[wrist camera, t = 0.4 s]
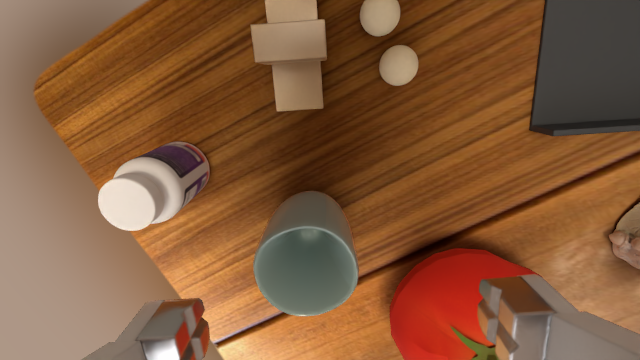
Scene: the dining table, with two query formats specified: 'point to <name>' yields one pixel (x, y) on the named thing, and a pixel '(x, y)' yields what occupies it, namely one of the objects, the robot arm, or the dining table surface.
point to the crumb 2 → (398, 65)
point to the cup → (307, 256)
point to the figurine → (628, 237)
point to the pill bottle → (154, 186)
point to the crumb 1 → (379, 16)
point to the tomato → (446, 305)
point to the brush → (292, 52)
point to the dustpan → (588, 68)
